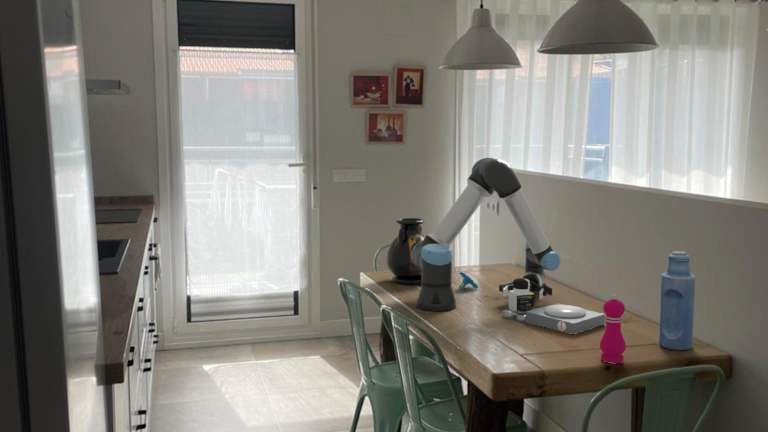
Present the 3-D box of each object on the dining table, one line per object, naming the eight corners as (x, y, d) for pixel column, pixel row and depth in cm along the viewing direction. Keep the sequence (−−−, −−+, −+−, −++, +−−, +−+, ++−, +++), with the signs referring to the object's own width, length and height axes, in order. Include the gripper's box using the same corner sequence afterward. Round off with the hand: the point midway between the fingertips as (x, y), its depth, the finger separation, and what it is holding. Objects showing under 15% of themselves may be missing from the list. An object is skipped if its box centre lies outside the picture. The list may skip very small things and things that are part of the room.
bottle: (696, 345, 221) (701, 251, 218) (685, 353, 214) (690, 255, 210) (665, 339, 228) (669, 248, 224) (654, 347, 220) (658, 252, 217)
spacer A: (510, 319, 254) (510, 314, 253) (499, 317, 257) (499, 311, 257) (519, 317, 257) (519, 311, 257) (508, 314, 261) (508, 309, 260)
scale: (572, 335, 233) (572, 320, 233) (524, 322, 249) (524, 309, 248) (604, 325, 245) (605, 311, 244) (557, 313, 260) (557, 300, 260)
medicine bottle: (516, 313, 261) (517, 281, 260) (508, 308, 268) (508, 277, 267) (534, 312, 263) (534, 280, 262) (525, 307, 270) (525, 276, 268)
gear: (482, 287, 297) (465, 271, 296) (472, 297, 296) (455, 281, 295) (475, 285, 308) (458, 269, 307) (466, 295, 307) (449, 279, 306)
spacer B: (524, 323, 249) (524, 318, 248) (513, 320, 252) (513, 315, 252) (533, 320, 252) (533, 315, 252) (522, 318, 256) (522, 312, 255)
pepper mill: (594, 360, 208) (596, 294, 205) (606, 355, 213) (609, 290, 210) (617, 366, 203) (620, 298, 200) (629, 360, 208) (632, 294, 205)
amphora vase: (420, 288, 302) (420, 224, 299) (377, 283, 313) (377, 221, 309) (442, 279, 321) (442, 218, 317) (400, 274, 331) (400, 215, 328)
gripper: (562, 294, 280) (555, 306, 260) (499, 289, 288) (488, 301, 269) (562, 275, 279) (556, 286, 259) (499, 271, 287) (489, 282, 268)
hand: (522, 294), depth 264 cm, fingers open, 13 cm apart
